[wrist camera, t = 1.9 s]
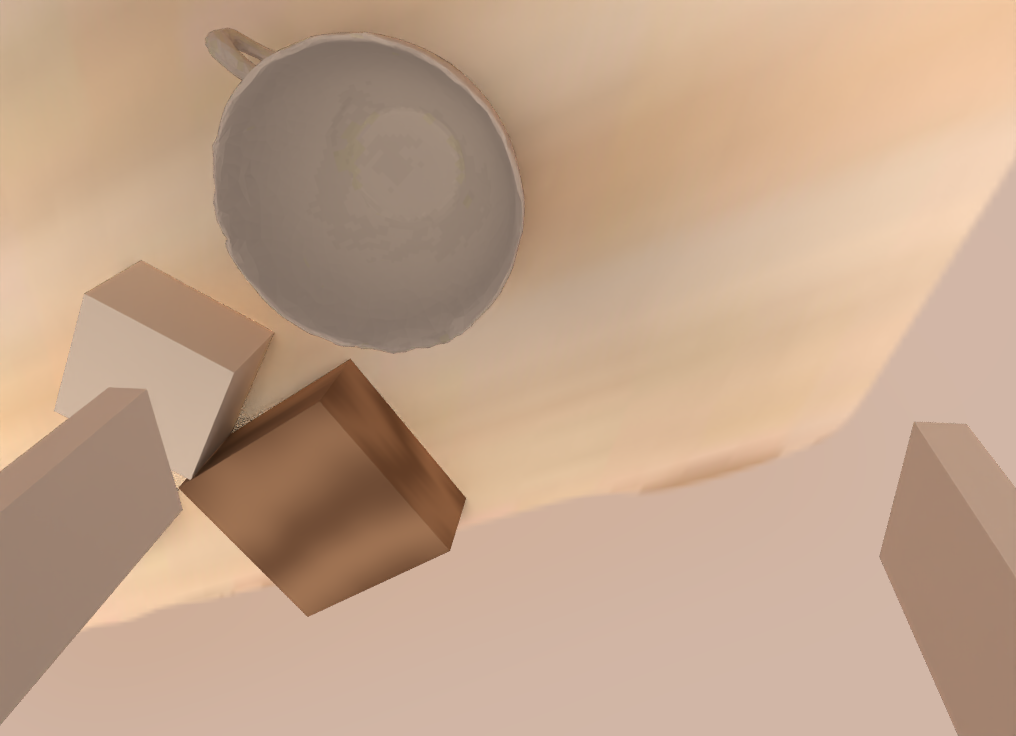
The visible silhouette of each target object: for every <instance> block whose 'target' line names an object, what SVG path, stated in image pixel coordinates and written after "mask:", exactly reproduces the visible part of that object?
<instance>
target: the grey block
mask: <svg viewBox="0 0 1016 736" xmlns="http://www.w3.org/2000/svg"><path fill="white" fill-rule="evenodd" d="M273 334H274V332H273V331H271V330H269V329H268V328H266V327H264V326H262V325H260V324H258V323H256V322H255V321H253V320H251V319H249V318H247V317H245V316H244V315H242V314H240V313H238V312H236V311H234V310H232V309H231V308H229V307H227V306H225V305H223V304H221V303H219V302H218V301H216V300H214V299H212V298H210V297H208V296H207V295H205V294H203V293H201V292H199V291H197V290H195V289H194V288H192V287H190V286H188V285H186V284H184V283H182V282H181V281H179V280H177V279H175V278H173V277H171V276H169V275H168V274H166V273H164V272H162V271H160V270H158V269H157V268H155V267H153V266H151V265H149V264H147V263H145V262H144V261H142V260H141V261H139V262H138V263H136V264H134V265H132V266H131V267H129V268H127V269H126V270H124V271H122V272H120V273H119V274H117V275H115V276H114V277H112V278H110V279H108V280H107V281H105V282H103V283H101V284H100V285H98V286H96V287H95V288H93V289H91V290H89V291H88V292H86V293H84V297H83V301H82V304H81V308H80V312H79V316H78V320H77V324H76V328H75V332H74V335H73V339H72V343H71V347H70V351H69V355H68V359H67V363H66V366H65V370H64V374H63V378H62V382H61V386H60V390H59V394H58V397H57V401H56V405H55V409H54V411H55V412H57V413H59V414H61V415H63V416H65V417H67V418H70V417H71V416H72V415H74V414H75V413H76V412H77V411H79V410H80V409H81V408H83V407H84V406H85V405H86V404H88V403H89V402H90V401H92V400H93V399H94V398H95V397H97V396H98V395H99V394H101V393H102V392H103V391H104V390H106V389H107V388H108V387H114V388H138V389H147V391H148V395H149V398H150V401H151V405H152V408H153V411H154V415H155V418H156V422H157V425H158V428H159V432H160V435H161V438H162V442H163V445H164V448H165V452H166V455H167V459H168V462H169V465H170V469H171V470H172V471H174V472H176V473H178V474H180V475H182V476H183V477H185V478H187V479H189V480H191V479H192V478H193V477H194V475H195V474H196V473H197V472H198V471H199V470H200V469H201V467H202V466H203V465H204V464H205V463H206V462H207V461H208V459H209V458H210V457H211V456H212V455H213V454H214V452H215V451H216V450H217V449H218V448H219V447H220V446H221V444H222V443H223V442H224V441H225V440H226V439H227V437H228V436H229V435H230V434H231V433H232V430H233V428H234V426H235V423H236V421H237V419H238V416H239V414H240V412H241V409H242V407H243V405H244V402H245V400H246V398H247V395H248V393H249V390H250V388H251V386H252V383H253V381H254V379H255V376H256V374H257V372H258V369H259V367H260V365H261V362H262V360H263V358H264V355H265V353H266V351H267V348H268V346H269V344H270V341H271V339H272V337H273Z"/></svg>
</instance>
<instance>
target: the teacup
mask: <svg viewBox="0 0 1016 736" xmlns="http://www.w3.org/2000/svg"><path fill="white" fill-rule="evenodd" d="M205 40H206V47H207V48H208V50H209V52H210V54H211V55H212V57H214V58H215V59H216V60H217V61H218V62H219V63H220V64H221V65H223V66H224V67H225V68H226V69H227V70H228V71H230V72H231V73H232V74H233V75H235V76H236V77H238V78H239V79H241V80H242V81H241V83H240V84H239V85H238V86H237V88H236V89H235V91H234V92H233V94H232V95H231V97H230V98H229V100H228V102H227V104H226V106H225V109H224V112H223V115H222V118H221V122H220V126H219V131H218V136H217V138H216V140H215V142H214V144H213V145H212V147H213V159H214V185H215V193H214V201H213V204H214V207H215V214H216V218H217V222H218V224H219V226H220V228H221V230H222V232H223V234H224V235H225V237H226V238H227V241H226V247H227V250H228V252H229V255H230V256H231V258H232V259H233V261H234V263H235V264H236V266H237V267H238V269H239V270H240V271H241V273H242V274H243V276H244V277H245V278H246V280H247V281H248V282H249V283H250V284H251V285H252V286H253V287H254V289H255V290H256V291H257V293H258V294H259V295H260V296H261V297H262V298H263V300H264V301H265V302H266V303H267V304H268V305H269V306H270V307H272V308H273V309H274V310H275V311H276V312H277V313H278V314H280V315H281V316H282V317H284V318H285V319H286V320H288V321H290V322H291V323H293V324H294V325H296V326H298V327H299V328H301V329H302V330H304V331H306V332H307V333H309V334H312V335H315V336H318V337H321V338H323V339H326V340H328V341H331V342H333V343H334V344H336V345H339V346H345V347H355V346H356V347H359V348H362V349H374V350H380V351H384V352H389V353H393V354H394V353H401V352H407V351H409V350H412V349H414V348H430V347H432V346H435V345H438V344H444V343H448V342H450V341H451V340H452V339H454V338H455V337H456V336H458V335H461V334H462V333H464V332H465V331H466V330H467V329H468V328H470V327H471V326H472V325H473V324H474V322H475V321H476V320H477V319H478V318H479V317H480V316H481V315H482V314H483V313H484V312H485V311H486V310H487V309H488V308H489V307H490V306H491V305H492V303H493V302H494V301H495V300H496V298H497V297H498V296H499V294H500V293H501V291H502V289H503V287H504V285H505V283H506V281H507V279H508V277H509V275H510V273H511V271H512V268H513V266H514V262H515V258H516V254H517V250H518V246H519V242H520V238H521V235H522V232H523V223H524V204H525V201H524V193H523V187H522V182H521V177H520V172H519V167H518V163H517V159H516V156H515V152H514V149H513V146H512V143H511V141H510V138H509V136H508V134H507V132H506V130H505V128H504V126H503V124H502V122H501V120H500V118H499V116H498V115H497V113H496V111H495V110H494V109H493V107H492V106H491V104H490V103H489V102H488V100H487V99H486V98H485V96H484V95H483V94H482V93H481V91H480V90H479V89H478V88H477V87H476V86H475V85H474V84H473V83H472V82H471V81H470V80H469V79H468V78H467V77H466V76H465V75H464V74H463V73H462V72H460V71H459V70H458V69H457V68H455V67H454V66H453V65H452V64H450V63H449V62H447V61H445V60H444V59H442V58H441V57H439V56H437V55H435V54H433V53H431V52H430V51H428V50H426V49H424V48H421V47H419V46H416V45H413V44H411V43H408V42H406V41H403V40H400V39H397V38H393V37H389V36H384V35H380V34H375V33H369V32H344V33H331V34H323V35H317V36H311V37H309V38H306V39H304V40H301V41H299V42H297V43H294V44H292V45H290V46H287V47H285V48H283V49H281V50H279V51H277V52H274V51H272V50H270V49H268V48H266V47H264V46H262V45H260V44H259V43H257V42H255V41H253V40H252V39H250V38H248V37H246V36H245V35H243V34H241V33H240V32H238V31H236V30H233V29H230V28H225V29H220V30H214V31H212V32H210V33H209V34H208V35H207V37H206V39H205ZM240 51H241V52H244V53H246V54H249V55H251V56H253V57H256V58H258V59H259V60H261V62H260V63H259V64H258V65H257V66H256V65H254V64H253V63H252V62H250V61H249V60H248V59H247V58H246V57H245V56H244V55H243V54H242V53H241V52H240Z"/></svg>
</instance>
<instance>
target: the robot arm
mask: <svg viewBox="0 0 1016 736" xmlns="http://www.w3.org/2000/svg"><path fill="white" fill-rule="evenodd" d="M182 510H183V509H182V506H181V502H180V499H179V496H178V492H177V489H176V485H175V482H174V479H173V475H172V472H171V469H170V465H169V462H168V459H167V455H166V452H165V448H164V445H163V442H162V438H161V435H160V432H159V428H158V425H157V422H156V418H155V415H154V411H153V408H152V405H151V401H150V398H149V395H148V391H147V389H138V388H114V387H108V388H107V389H106V390H104V391H103V392H102V393H101V394H99V395H98V396H97V397H95V398H94V399H93V400H92V401H90V402H89V403H88V404H86V405H85V406H84V407H83V408H81V409H80V410H79V411H77V412H76V413H75V414H74V415H72V416H71V417H70V418H68V419H67V420H66V421H65V422H63V423H62V424H61V425H59V426H58V427H57V428H56V429H54V430H53V431H52V432H50V433H49V434H48V435H47V436H45V437H44V438H43V439H41V440H40V441H39V442H38V443H36V444H35V445H34V446H32V447H31V448H30V449H29V450H27V451H26V452H25V453H23V454H22V455H21V456H20V457H18V458H17V459H16V460H14V461H13V462H12V463H11V464H9V465H8V466H7V467H5V468H4V469H3V470H2V471H0V725H1V724H2V723H3V721H4V720H5V719H6V718H7V717H8V715H9V714H10V713H11V712H12V711H13V710H14V708H15V707H16V706H17V705H18V704H19V702H20V701H21V700H22V699H23V698H24V696H25V695H26V694H27V693H28V692H29V691H30V689H31V688H32V687H33V686H34V685H35V684H36V682H37V681H38V680H39V679H40V678H41V676H42V675H43V674H44V673H45V672H46V670H47V669H48V668H49V667H50V666H51V665H52V663H53V662H54V661H55V660H56V659H57V657H58V656H59V655H60V654H61V653H62V652H63V650H64V649H65V648H66V647H67V646H68V644H69V643H70V642H71V641H72V640H73V639H74V637H75V636H76V635H77V634H78V633H79V632H80V630H81V629H82V628H83V627H84V626H85V624H86V623H87V622H88V621H89V620H90V619H91V617H92V616H93V615H94V614H95V613H96V611H97V610H98V609H99V608H100V607H101V606H102V604H103V603H104V602H105V601H106V600H107V598H108V597H109V596H110V595H111V594H112V593H113V591H114V590H115V589H116V588H117V587H118V585H119V584H120V583H121V582H122V581H123V579H124V578H125V577H126V576H127V575H128V574H129V572H130V571H131V570H132V569H133V568H134V566H135V565H136V564H137V563H138V562H139V561H140V559H141V558H142V557H143V556H144V555H145V553H146V552H147V551H148V550H149V549H150V548H151V546H152V545H153V544H154V543H155V542H156V540H157V539H158V538H159V537H160V536H161V535H162V533H163V532H164V531H165V530H166V529H167V527H168V526H169V525H170V524H171V523H172V522H173V520H174V519H175V518H176V517H177V516H178V514H179V513H180V512H181V511H182ZM880 559H881V562H882V564H883V566H884V568H885V571H886V573H887V575H888V578H889V580H890V582H891V584H892V586H893V589H894V591H895V593H896V596H897V598H898V600H899V603H900V605H901V607H902V609H903V612H904V614H905V616H906V618H907V621H908V623H909V625H910V628H911V630H912V632H913V634H914V637H915V639H916V641H917V643H918V646H919V648H920V650H921V652H922V655H923V657H924V659H925V662H926V664H927V666H928V668H929V671H930V673H931V675H932V677H933V680H934V682H935V684H936V687H937V689H938V691H939V693H940V696H941V698H942V700H943V703H944V705H945V707H946V709H947V712H948V714H949V716H950V718H951V721H952V723H953V725H954V727H955V730H956V732H957V734H958V736H1016V488H1015V486H1014V485H1013V484H1012V482H1011V481H1010V480H1009V479H1008V477H1007V476H1006V475H1005V473H1004V472H1003V471H1002V470H1001V468H1000V467H999V466H998V464H997V463H996V462H995V460H994V459H993V458H992V457H991V455H990V454H989V453H988V451H987V450H986V449H985V447H984V446H983V445H982V444H981V442H980V441H979V440H978V438H977V437H976V436H975V434H974V433H973V432H972V431H971V429H970V428H969V427H968V425H967V424H956V423H955V424H954V423H933V422H932V423H931V422H914V424H913V427H912V431H911V435H910V439H909V443H908V447H907V451H906V455H905V458H904V463H903V466H902V471H901V474H900V478H899V482H898V486H897V490H896V494H895V497H894V501H893V505H892V509H891V513H890V517H889V521H888V525H887V529H886V532H885V536H884V540H883V544H882V548H881V552H880Z"/></svg>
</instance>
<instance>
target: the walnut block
mask: <svg viewBox="0 0 1016 736" xmlns="http://www.w3.org/2000/svg"><path fill="white" fill-rule="evenodd" d="M179 489H180V490H181V491H182V492H183V493H184V494H185V495H186V496H187V497H188V498H189V499H190V500H191V501H192V502H193V503H194V504H195V505H196V506H197V507H198V508H199V509H200V510H201V511H202V512H203V513H204V514H205V515H206V516H207V517H208V518H209V519H210V520H211V521H212V522H213V523H214V524H215V525H216V526H217V527H218V528H219V529H220V530H221V531H222V532H223V533H224V534H225V535H226V536H227V537H228V538H229V539H230V540H231V541H232V542H233V543H234V544H235V545H236V546H237V547H238V548H239V549H240V550H241V551H242V552H243V553H244V554H245V555H246V556H247V557H248V558H249V559H250V560H251V561H252V562H253V563H254V564H255V565H256V566H257V567H258V568H259V569H260V570H261V571H262V572H263V573H264V574H265V575H266V576H267V577H268V578H269V579H270V580H271V581H272V582H273V583H274V584H275V585H276V586H277V587H278V588H279V589H280V590H281V591H282V592H283V593H284V594H285V595H286V596H287V597H289V599H290V600H291V601H292V602H293V603H294V604H295V605H296V606H298V608H300V610H301V611H303V613H304V614H305V615H306V616H308V617H309V616H310V615H313V614H315V613H317V612H319V611H322V610H324V609H326V608H328V607H330V606H332V605H334V604H336V603H338V602H341V601H343V600H345V599H347V598H349V597H352V596H354V595H356V594H358V593H360V592H362V591H365V590H367V589H369V588H371V587H373V586H375V585H377V584H380V583H382V582H384V581H386V580H388V579H390V578H393V577H395V576H397V575H399V574H401V573H403V572H405V571H408V570H410V569H412V568H414V567H416V566H419V565H420V564H423V563H425V562H427V561H429V560H431V559H434V558H436V557H438V556H440V555H442V554H444V553H447V552H449V551H450V549H451V546H452V542H453V539H454V536H455V533H456V529H457V526H458V523H459V519H460V516H461V513H462V510H463V506H464V503H465V500H466V498H465V496H464V495H463V494H462V493H461V492H460V490H459V489H458V488H457V487H456V486H455V484H454V483H453V482H452V481H451V480H450V478H449V477H448V476H447V475H446V473H445V472H444V471H443V470H442V469H441V467H440V466H439V465H438V464H437V463H436V461H435V460H434V459H433V458H432V457H431V455H430V454H429V453H428V452H427V451H426V449H425V448H424V447H423V446H422V445H421V443H420V442H419V441H418V440H417V439H416V437H415V436H414V435H413V434H412V433H411V431H410V430H409V429H408V428H407V427H406V425H405V424H404V423H403V422H402V421H401V419H400V418H399V417H398V416H397V415H396V413H395V412H394V411H393V410H392V409H391V407H390V406H389V405H388V404H387V402H386V401H385V400H384V399H383V398H382V396H381V395H380V394H379V393H378V392H377V390H376V389H375V388H374V387H373V386H372V384H371V383H370V382H369V381H368V380H367V378H366V377H365V376H364V375H363V374H362V372H361V371H360V370H359V369H358V368H357V366H356V365H355V364H354V363H353V362H352V360H351V359H349V360H348V361H346V362H345V363H343V364H341V365H340V366H338V367H337V368H335V369H334V370H332V371H330V372H329V373H327V374H326V375H324V376H322V377H321V378H319V379H318V380H316V381H314V382H313V383H311V384H310V385H308V386H306V387H305V388H303V389H302V390H300V391H298V392H297V393H295V394H294V395H292V396H291V397H289V398H287V399H286V400H284V401H283V402H281V403H279V404H278V405H276V406H275V407H273V408H271V409H270V410H268V411H267V412H265V413H263V414H262V415H260V416H259V417H257V418H255V419H254V420H252V421H251V422H249V423H248V424H246V425H244V426H243V427H241V428H240V429H238V430H236V431H235V432H233V433H232V434H230V435H229V436H228V437H227V439H226V440H225V441H224V442H223V443H222V444H221V446H220V447H219V448H218V449H217V450H216V451H215V452H214V454H213V455H212V456H211V457H210V458H209V459H208V461H207V462H206V463H205V464H204V465H203V466H202V467H201V469H200V470H199V471H198V472H197V473H196V474H195V475H194V477H193V478H192V479H191V480H189V479H186V480H185V481H184V482H183V483H182V484H181V486H180V487H179Z"/></svg>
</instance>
